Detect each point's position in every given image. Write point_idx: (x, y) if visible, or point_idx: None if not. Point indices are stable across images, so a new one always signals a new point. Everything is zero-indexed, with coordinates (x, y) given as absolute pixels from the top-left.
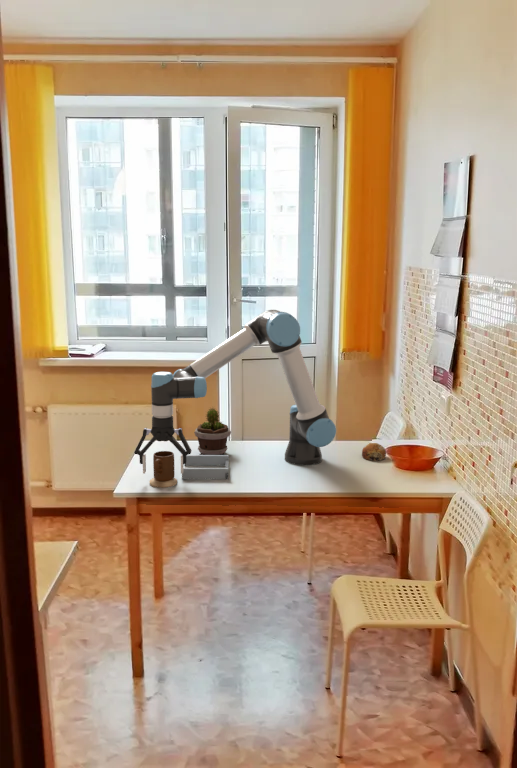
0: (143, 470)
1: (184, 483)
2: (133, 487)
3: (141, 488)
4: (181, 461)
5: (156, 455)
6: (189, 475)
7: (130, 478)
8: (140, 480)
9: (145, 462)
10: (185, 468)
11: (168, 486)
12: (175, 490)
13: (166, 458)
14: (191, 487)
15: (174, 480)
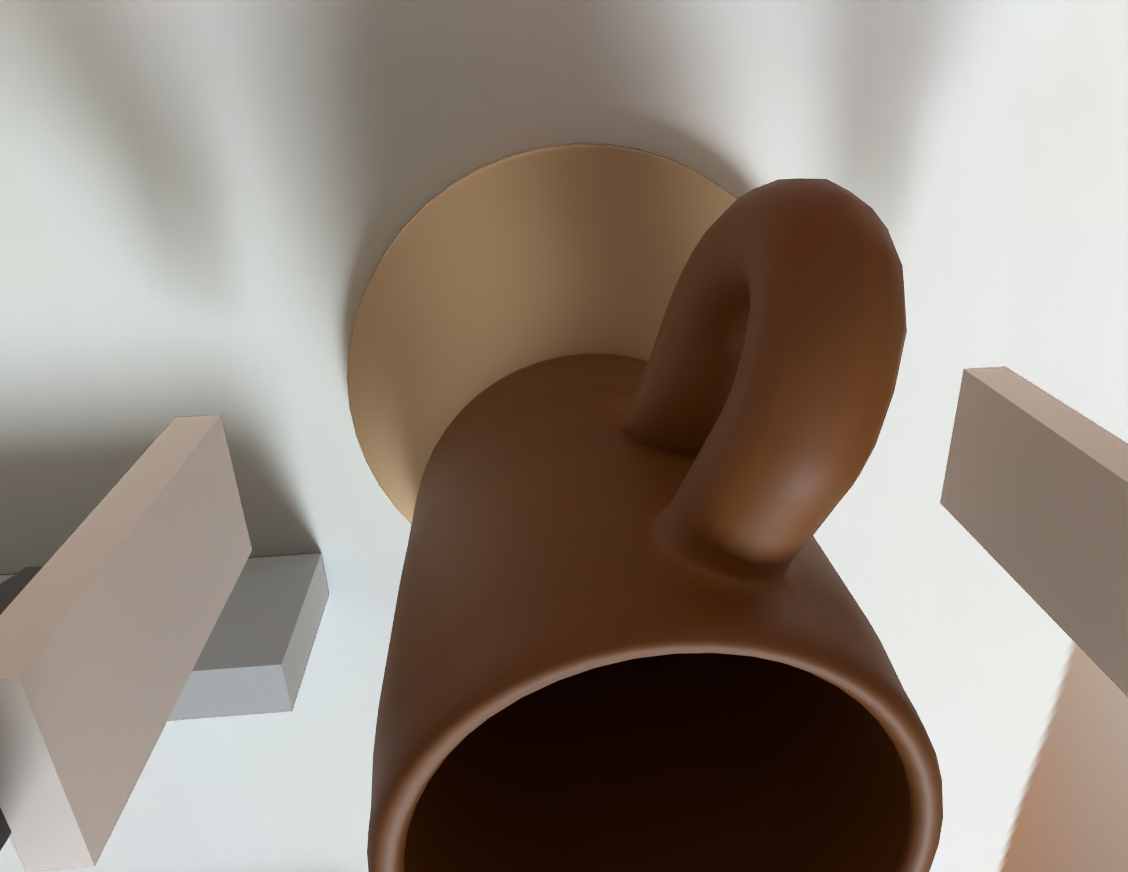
0: (1031, 389)
1: (231, 383)
2: (1066, 147)
3: (933, 100)
4: (81, 568)
5: (834, 861)
6: None
7: None
8: (940, 466)
9: (1062, 576)
10: (219, 688)
11: (463, 180)
12: (300, 11)
13: (540, 621)
14: (43, 194)
15: (402, 424)
